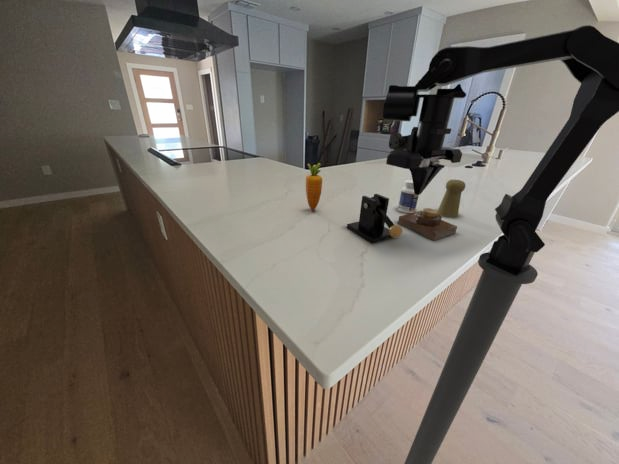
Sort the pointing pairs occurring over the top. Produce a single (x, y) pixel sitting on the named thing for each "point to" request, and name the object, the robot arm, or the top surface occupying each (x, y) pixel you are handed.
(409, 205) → the pill bottle
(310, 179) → the carrot
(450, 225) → the switch block
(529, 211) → the robot arm
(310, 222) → the top surface
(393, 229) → the ball knob lever
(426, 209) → the button
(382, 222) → the bracket
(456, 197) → the cork
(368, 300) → the top surface
